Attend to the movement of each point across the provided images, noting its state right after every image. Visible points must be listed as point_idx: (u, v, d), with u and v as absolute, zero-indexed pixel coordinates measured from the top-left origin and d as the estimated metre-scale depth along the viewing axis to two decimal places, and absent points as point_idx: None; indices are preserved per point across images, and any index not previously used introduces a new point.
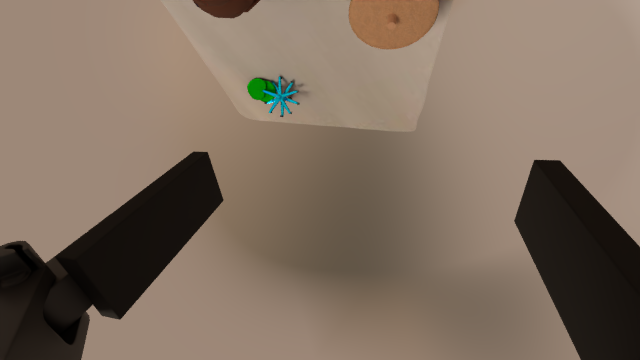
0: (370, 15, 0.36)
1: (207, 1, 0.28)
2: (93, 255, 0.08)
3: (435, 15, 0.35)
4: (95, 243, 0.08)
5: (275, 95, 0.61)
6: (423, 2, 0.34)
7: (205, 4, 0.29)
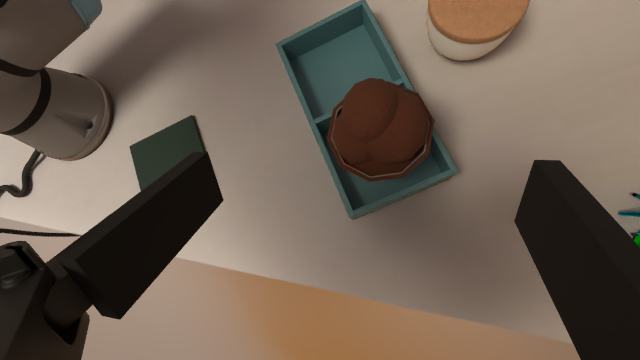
0: (473, 15, 0.33)
1: (383, 99, 0.25)
2: (93, 255, 0.08)
3: None
4: (95, 243, 0.08)
5: None
6: None
7: (387, 106, 0.25)
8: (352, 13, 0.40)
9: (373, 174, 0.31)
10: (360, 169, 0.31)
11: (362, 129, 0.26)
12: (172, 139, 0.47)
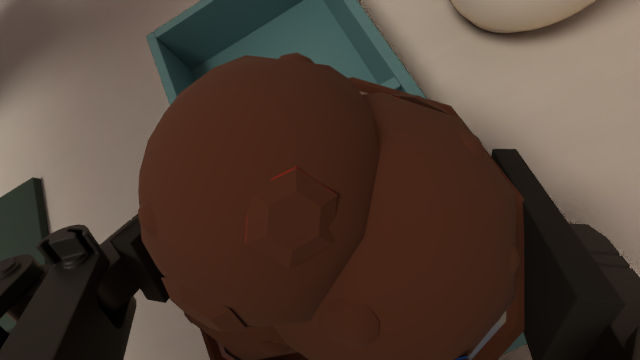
0: None
1: (284, 150, 0.04)
2: None
3: None
4: None
5: None
6: None
7: (310, 189, 0.04)
8: None
9: None
10: None
11: (204, 310, 0.05)
12: None
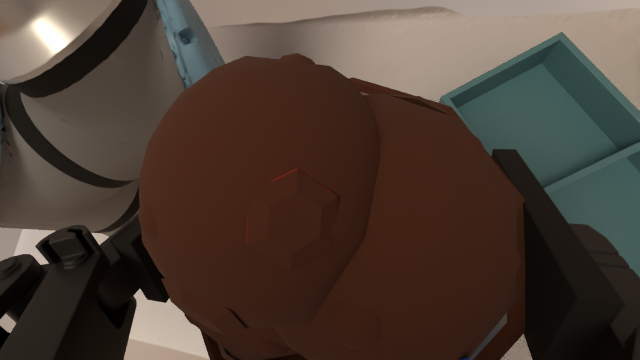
0: None
1: (285, 152, 0.04)
2: None
3: None
4: None
5: None
6: None
7: (311, 190, 0.04)
8: (543, 51, 0.31)
9: None
10: None
11: (204, 311, 0.05)
12: None
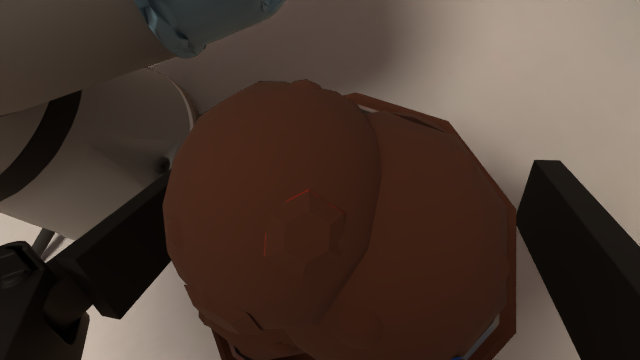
0: None
1: (298, 174, 0.05)
2: (93, 255, 0.08)
3: None
4: (95, 243, 0.08)
5: None
6: None
7: (321, 209, 0.05)
8: None
9: None
10: None
11: (225, 314, 0.06)
12: None
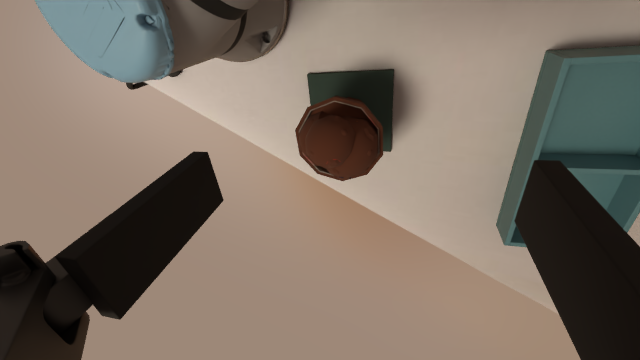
0: None
1: (335, 156, 0.31)
2: (93, 255, 0.08)
3: None
4: (95, 243, 0.08)
5: None
6: None
7: (337, 161, 0.31)
8: None
9: None
10: None
11: (314, 163, 0.33)
12: (361, 89, 0.41)
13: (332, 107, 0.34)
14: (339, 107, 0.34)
